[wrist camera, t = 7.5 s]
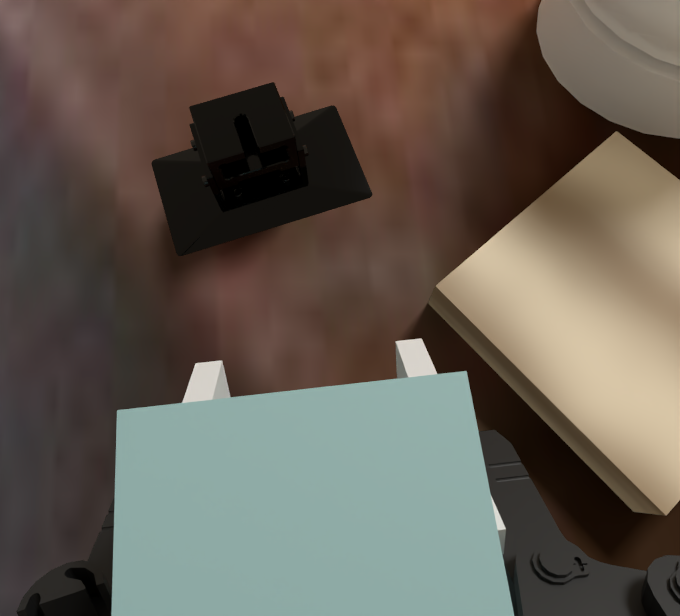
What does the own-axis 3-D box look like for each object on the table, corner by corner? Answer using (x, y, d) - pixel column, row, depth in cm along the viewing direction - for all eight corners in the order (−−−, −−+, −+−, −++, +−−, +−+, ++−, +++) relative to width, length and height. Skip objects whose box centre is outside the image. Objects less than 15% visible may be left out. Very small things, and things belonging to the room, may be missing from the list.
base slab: (626, 510, 19) (665, 515, 17) (426, 306, 22) (435, 286, 20) (792, 329, 21) (847, 310, 19) (590, 165, 24) (616, 130, 22)
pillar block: (415, 589, 16) (551, 807, 6) (260, 609, 16) (103, 870, 5) (392, 431, 18) (466, 371, 7) (251, 448, 17) (116, 410, 7)
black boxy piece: (150, 289, 22) (103, 245, 18) (119, 159, 25) (70, 92, 20) (407, 206, 24) (420, 145, 19) (354, 89, 26) (356, 11, 21)
